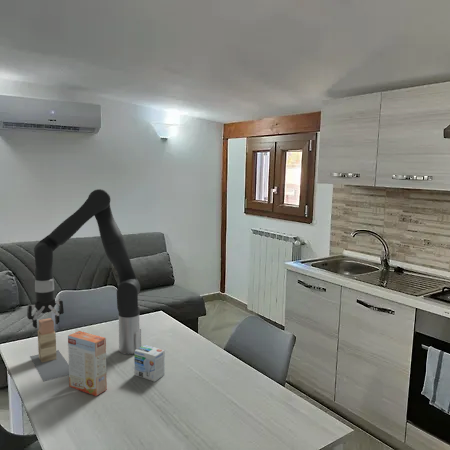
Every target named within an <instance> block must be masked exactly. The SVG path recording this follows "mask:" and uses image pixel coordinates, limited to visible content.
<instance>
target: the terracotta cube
mask: <svg viewBox="0 0 450 450" xmlns="http://www.w3.org/2000/svg"><path fill="white" fill-rule="evenodd" d="M38 331H39V332H40V333H41V335H44V334H49V333H54V331H55V320H54V319H52V318H51V317H48V318H42V319H38Z"/></svg>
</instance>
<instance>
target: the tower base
mask: <svg viewBox="0 0 450 450" xmlns="http://www.w3.org/2000/svg"><path fill="white" fill-rule="evenodd" d="M37 345H38V344H37ZM37 347H38V349H37V351H38V354H39V359H40V360H41V362H46V361H51V360H55V359H57V358H56V351H57V345H56V346H54V347H49V348H44V349H41V348H40V346H39V345H38V346H37Z"/></svg>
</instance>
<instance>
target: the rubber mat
mask: <svg viewBox="0 0 450 450" xmlns="http://www.w3.org/2000/svg"><path fill="white" fill-rule="evenodd" d="M29 357H30V359H31V361H32V362H33V365H34V367H35V369H36V370H37V372H38V374H39V376H40V378H41V379H42V382H46V381H51V380H56V379H59V378H63V377H66V376H69V362H67V359H65V357H64V356H63V354H62V352H61V351H60V350H59V349H56V358H57V359H55V360H51V361H46V362H41V360H40V359H39V353H38V354H34V355H30V356H29Z"/></svg>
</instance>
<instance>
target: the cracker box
mask: <svg viewBox="0 0 450 450" xmlns="http://www.w3.org/2000/svg"><path fill="white" fill-rule="evenodd" d="M67 346H68V348H67V349H68V351H67V352H68V364H69V375H68V380H69V381H68V382H69V386H68V387H70V388H72V389H76V390H77V391H80V392H83V393H85V394H89V395H91V396H95V397H97V396H99V395H100V394H102V393H104V392H106V391H107V389H108V388H107V385H108V383H107V381H108V380H107V379H108V378H107V338H106V337H103V336H100V335H97V334H93V333H89V332H88V333H87V332H84V331H80V330H78V331H75V332H73V333H70V334H69V335H67Z"/></svg>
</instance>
